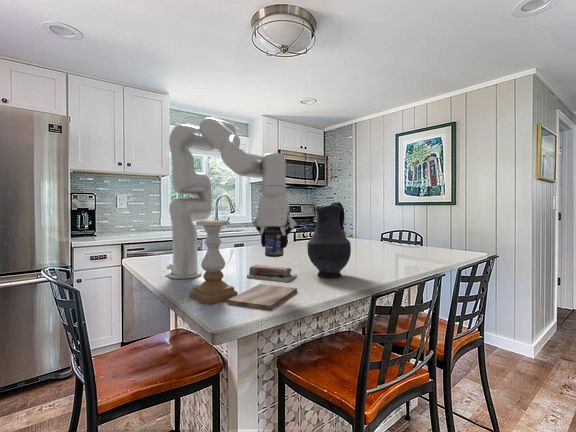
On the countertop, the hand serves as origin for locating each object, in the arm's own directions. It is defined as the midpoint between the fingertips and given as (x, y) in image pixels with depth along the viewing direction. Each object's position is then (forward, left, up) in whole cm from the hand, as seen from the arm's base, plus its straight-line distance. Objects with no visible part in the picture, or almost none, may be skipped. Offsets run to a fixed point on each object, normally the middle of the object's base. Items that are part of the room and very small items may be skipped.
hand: (274, 246), depth 105 cm
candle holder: (-15, -12, -16) cm, 25 cm away
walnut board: (-1, -6, -15) cm, 16 cm away
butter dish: (-11, +20, -16) cm, 28 cm away
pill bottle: (0, 0, -3) cm, 3 cm away
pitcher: (+10, +33, -15) cm, 38 cm away
